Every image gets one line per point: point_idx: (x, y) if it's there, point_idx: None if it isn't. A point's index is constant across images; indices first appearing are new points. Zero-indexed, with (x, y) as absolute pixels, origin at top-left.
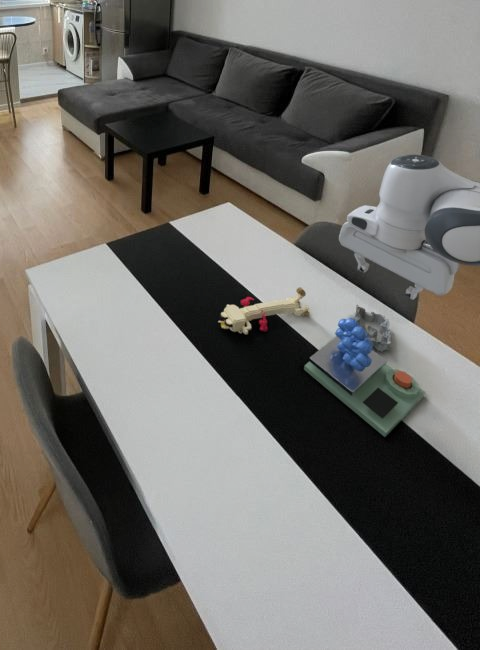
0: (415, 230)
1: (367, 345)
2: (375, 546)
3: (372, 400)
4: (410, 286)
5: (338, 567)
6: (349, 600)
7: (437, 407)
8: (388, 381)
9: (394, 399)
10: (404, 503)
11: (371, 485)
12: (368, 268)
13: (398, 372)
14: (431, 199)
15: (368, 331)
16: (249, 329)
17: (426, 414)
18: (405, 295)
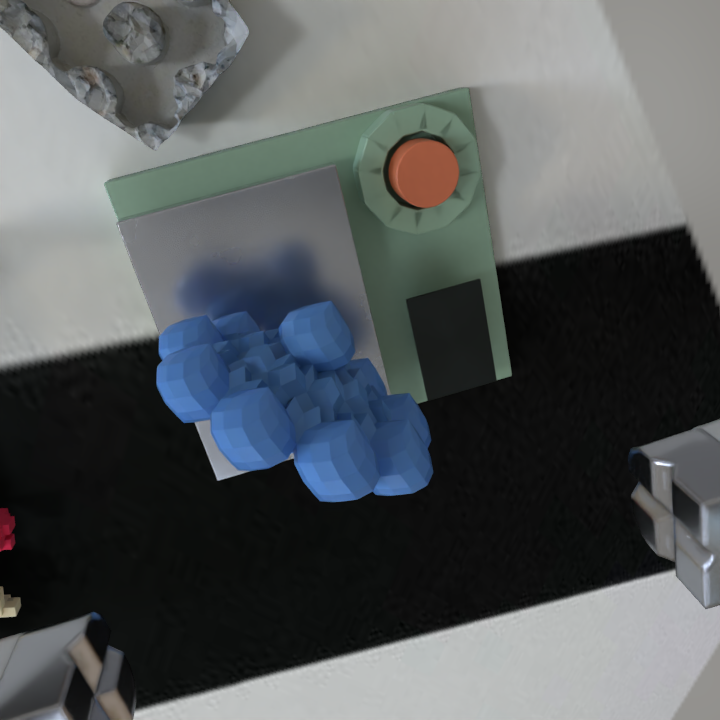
0: None
1: (420, 484)
2: (643, 566)
3: (437, 365)
4: (706, 513)
5: (628, 648)
6: (665, 656)
7: (511, 81)
8: (399, 230)
9: (443, 246)
10: (629, 450)
11: (567, 494)
12: (86, 632)
13: (403, 176)
14: None
15: (131, 55)
16: (2, 595)
17: (510, 155)
18: (649, 532)
